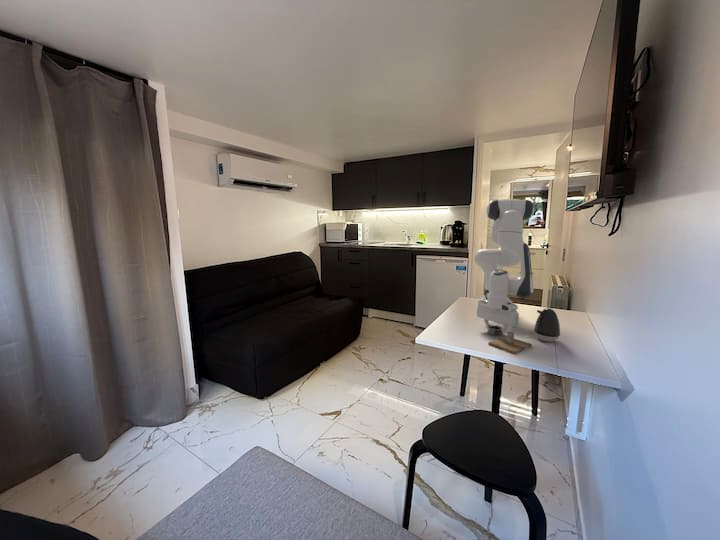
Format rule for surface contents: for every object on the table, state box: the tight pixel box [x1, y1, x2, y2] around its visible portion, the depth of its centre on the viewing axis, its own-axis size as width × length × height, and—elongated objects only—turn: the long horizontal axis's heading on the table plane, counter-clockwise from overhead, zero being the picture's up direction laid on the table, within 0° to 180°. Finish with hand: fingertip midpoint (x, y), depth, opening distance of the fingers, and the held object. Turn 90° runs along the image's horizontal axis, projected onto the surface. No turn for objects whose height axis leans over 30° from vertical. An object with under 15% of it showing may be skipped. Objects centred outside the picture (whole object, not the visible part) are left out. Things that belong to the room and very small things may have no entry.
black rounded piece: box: [533, 308, 561, 343], centre depth 136 cm, size 10×10×15 cm
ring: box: [487, 324, 504, 337], centre depth 146 cm, size 7×7×3 cm
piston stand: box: [488, 331, 533, 355], centre depth 131 cm, size 14×12×6 cm
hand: (495, 330), depth 146 cm, fingers closed on ring, 7 cm apart
